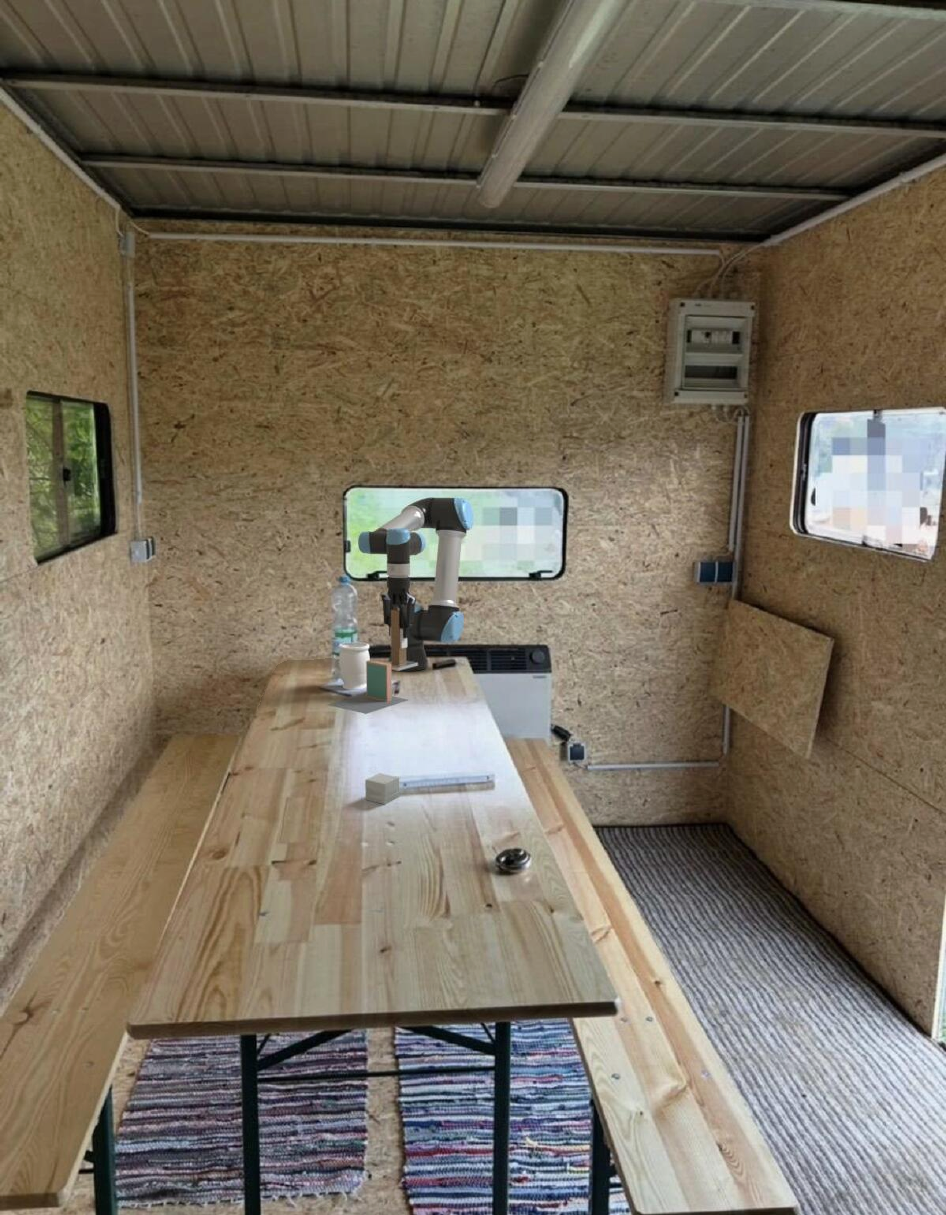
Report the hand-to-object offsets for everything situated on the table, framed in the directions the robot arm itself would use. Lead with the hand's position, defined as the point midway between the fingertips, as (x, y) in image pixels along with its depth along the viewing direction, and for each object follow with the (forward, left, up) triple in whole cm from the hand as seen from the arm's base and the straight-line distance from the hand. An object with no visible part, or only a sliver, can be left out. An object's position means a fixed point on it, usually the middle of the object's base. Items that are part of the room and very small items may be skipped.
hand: (398, 646), depth 285 cm
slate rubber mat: (+15, 0, -16) cm, 22 cm away
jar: (+3, -18, -16) cm, 24 cm away
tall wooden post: (0, 0, -7) cm, 7 cm away
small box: (+72, +57, -16) cm, 93 cm away
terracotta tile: (+10, 0, -16) cm, 18 cm away
